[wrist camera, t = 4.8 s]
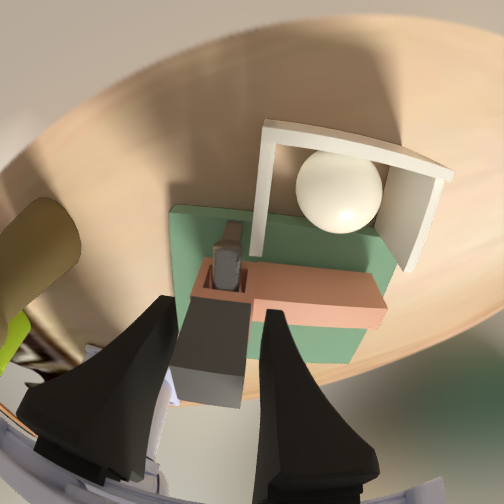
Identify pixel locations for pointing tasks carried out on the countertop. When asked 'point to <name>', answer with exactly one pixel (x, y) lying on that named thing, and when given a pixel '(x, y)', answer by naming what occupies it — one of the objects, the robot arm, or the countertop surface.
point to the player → (260, 320)
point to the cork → (34, 256)
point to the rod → (228, 258)
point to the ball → (338, 191)
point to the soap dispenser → (14, 338)
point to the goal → (395, 192)
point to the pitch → (282, 252)
